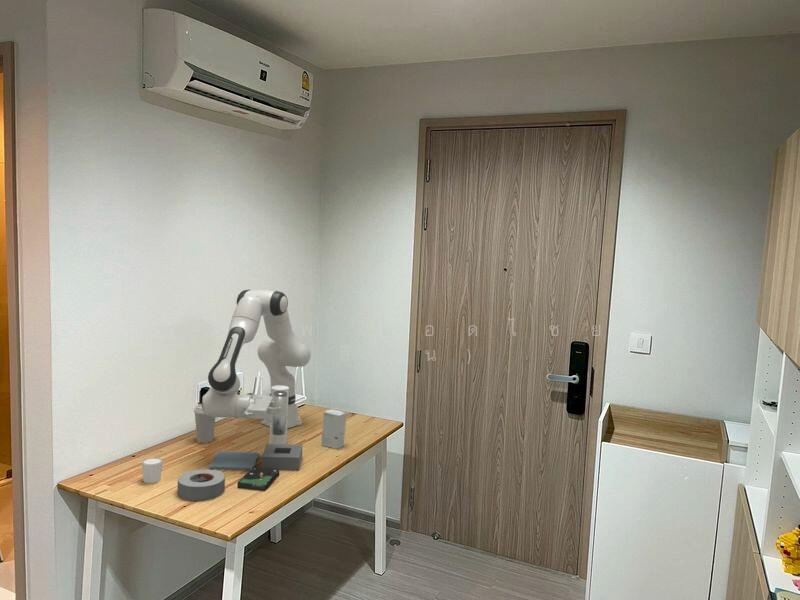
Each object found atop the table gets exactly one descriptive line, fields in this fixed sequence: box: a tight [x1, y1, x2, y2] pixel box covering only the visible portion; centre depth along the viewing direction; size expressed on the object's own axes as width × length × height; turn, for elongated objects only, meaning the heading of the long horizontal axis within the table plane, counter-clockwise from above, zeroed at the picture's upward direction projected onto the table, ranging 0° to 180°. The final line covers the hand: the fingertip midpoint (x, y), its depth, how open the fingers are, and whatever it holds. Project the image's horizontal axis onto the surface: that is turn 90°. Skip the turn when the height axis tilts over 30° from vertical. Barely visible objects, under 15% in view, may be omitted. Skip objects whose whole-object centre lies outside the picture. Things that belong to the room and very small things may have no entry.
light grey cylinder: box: [141, 457, 164, 484], centre depth 209 cm, size 7×7×7 cm
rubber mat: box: [208, 451, 260, 471], centre depth 231 cm, size 16×16×1 cm
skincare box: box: [320, 409, 347, 450], centre depth 254 cm, size 8×6×15 cm
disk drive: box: [237, 466, 281, 492], centre depth 214 cm, size 10×3×15 cm
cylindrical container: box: [268, 385, 289, 444], centre depth 249 cm, size 7×7×25 cm
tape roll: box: [176, 468, 226, 502], centre depth 203 cm, size 15×15×5 cm
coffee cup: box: [193, 403, 217, 444], centre depth 251 cm, size 10×10×15 cm
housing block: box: [260, 443, 303, 471], centre depth 232 cm, size 14×14×5 cm
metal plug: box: [272, 391, 287, 435], centre depth 230 cm, size 5×5×16 cm
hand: (282, 407), depth 230 cm, fingers closed on metal plug, 5 cm apart
